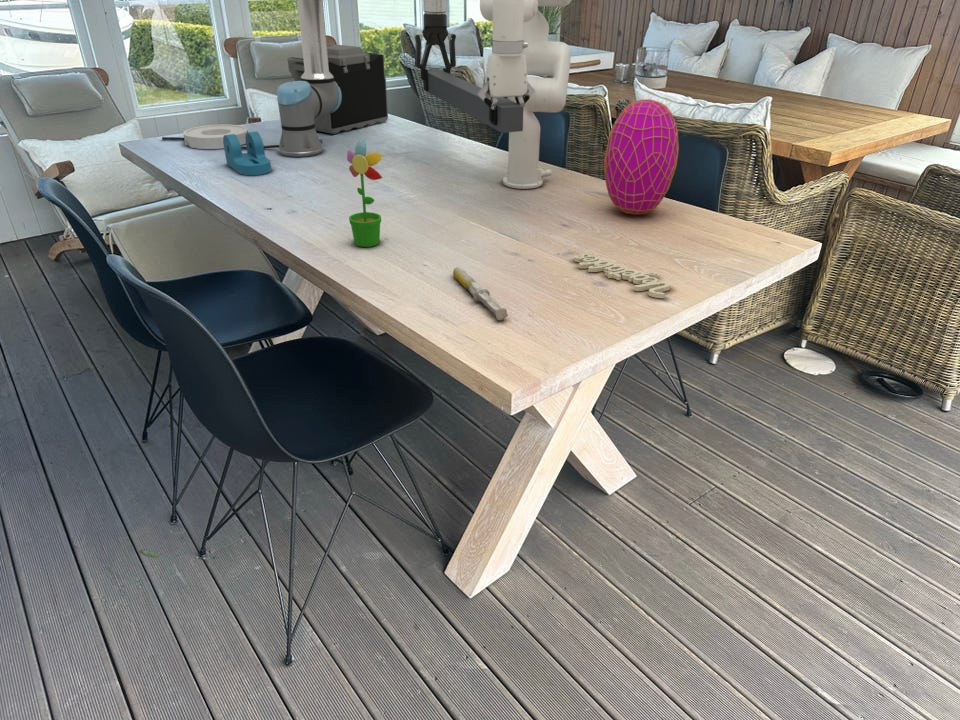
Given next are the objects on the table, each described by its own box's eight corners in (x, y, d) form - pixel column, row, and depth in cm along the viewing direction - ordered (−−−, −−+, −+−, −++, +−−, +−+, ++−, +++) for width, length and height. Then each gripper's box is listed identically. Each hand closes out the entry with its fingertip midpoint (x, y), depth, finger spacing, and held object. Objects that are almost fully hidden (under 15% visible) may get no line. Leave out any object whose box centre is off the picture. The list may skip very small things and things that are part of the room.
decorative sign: (686, 282, 150) (660, 295, 144) (686, 286, 150) (659, 300, 144) (592, 249, 166) (565, 259, 160) (592, 253, 167) (565, 263, 161)
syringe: (449, 274, 155) (449, 263, 153) (465, 272, 156) (464, 260, 154) (490, 323, 135) (491, 310, 133) (508, 319, 136) (508, 307, 134)
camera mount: (227, 164, 233) (221, 132, 227) (257, 160, 238) (252, 129, 233) (244, 176, 220) (239, 143, 215) (276, 172, 225) (271, 139, 220)
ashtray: (199, 134, 271) (197, 123, 269) (257, 135, 271) (255, 124, 268) (174, 148, 251) (172, 137, 249) (237, 149, 251) (235, 138, 249)
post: (522, 131, 177) (523, 106, 174) (501, 133, 175) (501, 107, 172) (440, 88, 235) (439, 69, 232) (423, 89, 233) (422, 70, 230)
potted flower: (390, 240, 173) (384, 138, 160) (373, 250, 166) (366, 145, 154) (358, 234, 176) (350, 134, 163) (341, 244, 170) (331, 141, 157)
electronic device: (355, 114, 307) (349, 41, 292) (392, 121, 296) (388, 45, 281) (291, 128, 282) (281, 48, 266) (329, 136, 271) (321, 53, 255)
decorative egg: (646, 228, 182) (662, 110, 167) (585, 212, 193) (596, 100, 178) (681, 212, 194) (699, 100, 179) (622, 197, 206) (635, 91, 190)
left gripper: (459, 12, 224) (459, 87, 236) (402, 12, 218) (405, 89, 230) (467, 14, 218) (466, 91, 230) (408, 14, 212) (410, 93, 224)
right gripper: (533, 44, 175) (530, 117, 184) (469, 47, 170) (469, 122, 179) (545, 48, 169) (541, 123, 178) (479, 51, 164) (479, 129, 173)
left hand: (435, 89), depth 230 cm, fingers closed on post, 6 cm apart
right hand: (505, 122), depth 179 cm, fingers closed on post, 6 cm apart
